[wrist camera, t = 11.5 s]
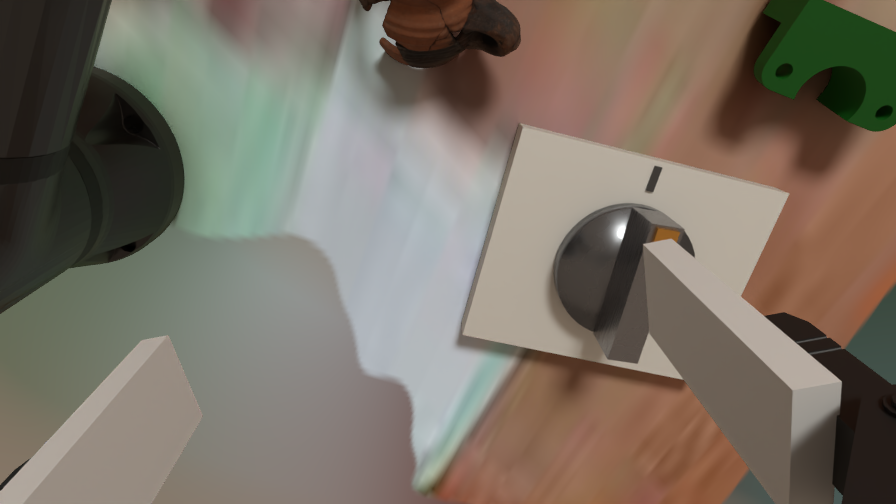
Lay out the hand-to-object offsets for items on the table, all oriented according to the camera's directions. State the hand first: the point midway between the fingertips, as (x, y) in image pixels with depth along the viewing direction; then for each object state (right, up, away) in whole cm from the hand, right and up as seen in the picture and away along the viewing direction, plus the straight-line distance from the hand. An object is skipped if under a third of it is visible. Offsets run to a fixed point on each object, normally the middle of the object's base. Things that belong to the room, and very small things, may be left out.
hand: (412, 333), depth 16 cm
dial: (+15, +1, +31) cm, 34 cm away
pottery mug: (0, +20, +25) cm, 33 cm away
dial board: (+15, +2, +33) cm, 36 cm away
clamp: (+28, +17, +28) cm, 43 cm away
